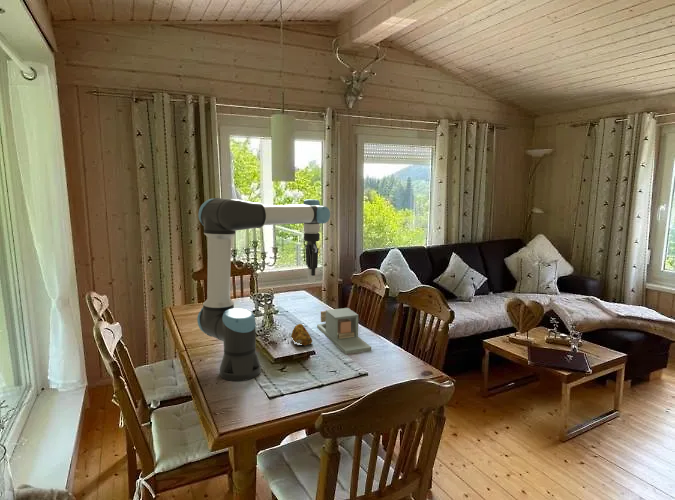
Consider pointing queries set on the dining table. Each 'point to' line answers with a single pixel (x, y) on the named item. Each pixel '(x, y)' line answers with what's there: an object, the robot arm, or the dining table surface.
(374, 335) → the dining table surface
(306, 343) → the rock
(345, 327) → the block
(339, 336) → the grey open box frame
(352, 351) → the tunnel deck
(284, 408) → the dining table surface
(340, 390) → the dining table surface
